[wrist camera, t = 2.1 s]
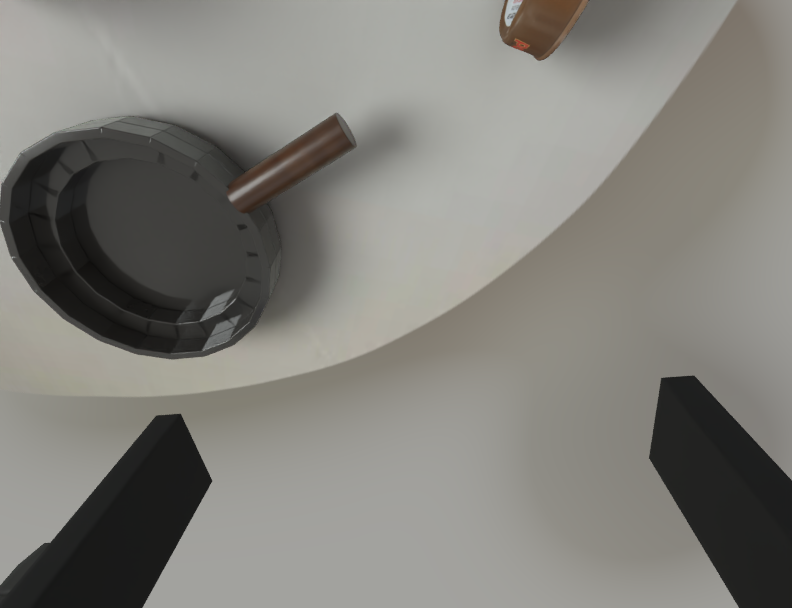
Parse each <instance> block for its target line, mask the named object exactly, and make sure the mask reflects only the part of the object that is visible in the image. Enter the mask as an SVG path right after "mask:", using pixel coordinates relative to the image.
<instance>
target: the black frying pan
mask: <svg viewBox="0 0 792 608" xmlns="http://www.w3.org/2000/svg"><path fill="white" fill-rule="evenodd" d="M243 173H245V172H244V171H243V170H242V169H241V168H240V167H239V166H238V165H236V164H235V163H234V162H233V161H232V160H231V159H230V158H229V157H228V156H227V155H225V154H224V153H223V152H222V151H221V150H220V149H219V148H218V147H216V146H215V145H213V144H211V143H209V142H207V141H205V140H203V139H201V138H199V137H197V136H195V135H194V134H192V133H190V132H188V131H186V130H184V129H182V128H180V127H178V126H175V125H173V124H168V123H163V122H158V121H153V120H149V119H144V118H139V117H134V116H125V117H117V118H109V119H100V120H92V121H89V122H86V123H82V124H79V125H76V126H73V127H70V128H67V129H64V130H61V131H58V132H55V133H53V134H51V135H49V136H48V137H46V138H44V139H42V140H41V141H39V142H37V143H36V144H34V145H32V146H30V147H29V148H27V149H25V150H24V151H22V152H21V153H20V154H19V156H18V157H17V159H16V161H15V162H14V164H13V166H12V167H11V169H10V170H9V172H8V174H7V175H6V177H5V179H4V180H3V182H2V184H1V197H0V225H1V228H2V231H3V234H4V237H5V241H6V244H7V247H8V250H9V253H10V256H11V258H12V260H13V261H14V263H15V264H16V266H17V267H18V269H19V270H20V272H21V273H22V275H23V276H24V278H25V279H26V281H27V282H28V284H29V285H30V286H31V288H32V289H33V291H34V292H35V293H36V294H37V295H38V296H39V297H40V298H41V299H43V300H44V301H45V302H46V303H47V304H48V305H49V306H50V307H51V308H52V309H53V310H54V311H56V312H57V313H58V314H59V315H60V316H61V317H62V318H63V319H65V320H66V321H68V322H69V323H71V324H73V325H74V326H76V327H77V328H79V329H81V330H82V331H84V332H86V333H87V334H89V335H91V336H92V337H94V338H96V339H97V340H100V341H101V342H104V343H107V344H110V345H112V346H115V347H118V348H121V349H123V350H126V351H129V352H132V353H134V354H138V355H145V356H152V357H159V358H166V359H181V358H192V357H203V356H207V355H210V354H212V353H215V352H217V351H220V350H223V349H225V348H228V347H230V346H233V345H235V344H236V343H237V342H238V341H239V340H240V339H242V338H243V337H244V336H245V335H246V334H247V333H248V332H250V331H251V330H252V329H253V328H254V327H255V326H256V325H257V323H258V321H259V319H260V317H261V315H262V313H263V311H264V308H265V306H266V304H267V302H268V300H269V298H270V296H271V294H272V291H273V289H274V287H275V284H276V282H277V280H278V278H279V272H280V258H281V242H280V238H279V235H278V231H277V228H276V224H275V221H274V217H273V213H272V212H271V209H270V207H269V206H268V204H267V203H266V204H264V205H263V206H261V207H259V208H258V209H256V210H255V211H253V212H251V213H245V214H243V213H241V212H240V211H238V210H237V209H236V208H235V207H234V206H233V204H232V203H231V202H230V200H229V198H228V196H227V194H226V191H228V190H229V187H228V185H229V183H230V182H231V181H233V180H234V179H236V178H237V177H239V176H240V175H242V174H243Z"/></svg>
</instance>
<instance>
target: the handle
mask: <svg viewBox="0 0 792 608" xmlns="http://www.w3.org/2000/svg"><path fill="white" fill-rule="evenodd" d="M356 147H357V145H356V141H355V138H354V136H353V134H352V132H351V130H350V129H349V127H348V125H347V124H346V122H345V121H344V119H343V118H342V117H341V116H340V115H339V114H338V113H335V114H333V115H332V116H330V117H329V118H327V119H326V120H324V121H323V122H321V123H320V124H318V125H317V126H315V127H314V128H312V129H310V130H309V131H307V132H306V133H304V134H303V135H301V136H300V137H298V138H297V139H295V140H294V141H292V142H291V143H289V144H288V145H286V146H285V147H283V148H282V149H280V150H278V151H277V152H275V153H274V154H272V155H271V156H269V157H268V158H266V159H265V160H263V161H262V162H260V163H259V164H257V165H256V166H254V167H253V168H251V169H250V170H248V171H246V172H245V173H243V174H242V175H240V176H239V177H237V178H236V179H234V180H233V181H231V182H230V183H229V185H228V187H229V190H228V191H226V194H227V196H228V198H229V200H230V202H231V203H232V204H233V206H234V207H235V208H236V209H237V210H238V211H240V212H241V213H243V214H245V213H251V212H253V211H255V210H256V209H258V208H259V207H261V206H263V205H264V204H266V203H267V202H269V201H271V200H272V199H274V198H275V197H277V196H279V195H280V194H282V193H284V192H285V191H287V190H288V189H290V188H292V187H293V186H295V185H296V184H298V183H300V182H301V181H303V180H304V179H306V178H308V177H309V176H311V175H313V174H314V173H316V172H317V171H319V170H321V169H322V168H324V167H325V166H327V165H329V164H330V163H332V162H333V161H335V160H337V159H338V158H340V157H342V156H343V155H345V154H346V153H348V152H350V151H351V150H353V149H354V148H356Z"/></svg>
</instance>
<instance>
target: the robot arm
mask: <svg viewBox="0 0 792 608" xmlns="http://www.w3.org/2000/svg"><path fill="white" fill-rule="evenodd" d="M649 459H650V460H651V462H652V464H653V465H654V467H655V468H656V470H657V472H658V474H659V475H660V477H661V479H662V480H663V482H664V484H665V485H666V487H667V489H668V490H669V492H670V494H671V495H672V497H673V499H674V500H675V502H676V503H677V505H678V507H679V509H680V510H681V512H682V513H683V515H684V517H685V518H686V520H687V522H688V523H689V525H690V527H691V528H692V530H693V532H694V533H695V535H696V537H697V538H698V540H699V542H700V543H701V545H702V547H703V548H704V550H705V552H706V553H707V555H708V557H709V558H710V560H711V562H712V563H713V565H714V567H715V568H716V570H717V572H718V573H719V575H720V577H721V578H722V580H723V582H724V583H725V585H726V587H727V588H728V590H729V592H730V593H731V595H732V596H733V598H734V600H735V602H736V603H737V605H738V607H739V608H792V480H791V479H790V478H789V477H788V476H787V475H786V474H785V473H784V472H783V471H782V470H781V468H779V466H778V465H777V464H776V463H775V462H774V461H773V460H772V459H771V458H770V457H769V456H768V454H767V453H766V452H765V451H764V450H763V449H762V448H761V447H760V446H759V445H758V444H757V443H756V442H755V441H754V440H753V438H752V437H751V436H750V435H749V434H748V433H747V432H746V431H745V430H744V429H743V428H742V427H741V425H740V424H739V423H738V422H737V421H736V420H735V419H734V418H733V417H732V416H731V415H730V414H729V413H728V412H727V411H726V409H725V408H724V407H723V406H722V405H721V404H720V403H719V402H718V401H717V400H716V399H715V398H714V397H713V395H712V394H711V393H710V392H709V391H708V390H707V389H706V388H705V387H704V386H703V385H702V384H701V383H700V381H699V380H698V379H697V378H696V377H695V376H682V377H668V378H661V384H660V391H659V397H658V404H657V410H656V417H655V423H654V429H653V437H652V442H651V449H650V456H649ZM211 482H212V479H211V477H210V475H209V473H208V471H207V469H206V467H205V464H204V462H203V460H202V458H201V456H200V454H199V452H198V450H197V448H196V445H195V443H194V441H193V439H192V437H191V435H190V433H189V430H188V428H187V427H186V424H185V422H184V420H183V418H182V416H181V414H173V415H158V416H156V417H155V418H154V419H153V420H152V422H151V423H150V424H149V425H148V426H147V428H146V429H145V430H144V431H143V432H142V434H141V435H140V436H139V437H138V439H137V440H136V441H135V442H134V443H133V444H132V446H131V447H130V448H129V449H128V450H127V452H126V453H125V454H124V456H122V458H121V459H120V460H119V461H118V462H117V464H116V465H115V466H114V467H113V468H112V470H111V471H110V472H109V473H108V474H107V476H106V477H105V478H104V479H103V480H102V482H101V483H100V484H99V485H98V486H97V488H96V489H95V490H94V491H93V492H92V494H91V495H90V496H89V497H88V498H87V500H86V501H85V502H84V503H83V504H82V506H81V507H80V508H79V509H78V510H77V512H76V513H75V514H74V515H73V516H72V518H71V519H70V520H69V521H68V522H67V524H66V525H65V526H64V527H63V528H62V530H61V531H60V532H59V533H58V534H57V536H56V537H55V538H54V539H53V540H52V541H51V543H44V544H43V545H42V546H40V547H39V548H38V549H37V550H36V551H34V552H33V553H32V554H31V555H30V556H28V557H27V558H26V559H25V560H24V561H22V562H21V563H20V564H19V565H18V566H17V567H16V568H15V569H14V570H13V571H12V573H11V574H10V575H9V576H8V577H7V578H6V579H5V581H4V582H3V583H2V584H1V585H0V608H142V607H143V606H144V604H145V602H146V600H147V598H148V596H149V594H150V593H151V591H152V589H153V587H154V586H155V584H156V582H157V580H158V578H159V576H160V575H161V573H162V571H163V569H164V567H165V566H166V564H167V562H168V560H169V558H170V556H171V555H172V553H173V551H174V549H175V548H176V546H177V544H178V542H179V540H180V539H181V537H182V535H183V533H184V531H185V529H186V527H187V526H188V524H189V522H190V520H191V519H192V517H193V515H194V513H195V511H196V510H197V508H198V506H199V504H200V502H201V500H202V499H203V497H204V495H205V493H206V491H207V490H208V488H209V486H210V484H211Z"/></svg>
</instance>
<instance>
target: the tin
mask: <svg viewBox="0 0 792 608" xmlns="http://www.w3.org/2000/svg"><path fill="white" fill-rule="evenodd" d="M588 2H589V0H505V3H504V7H503V10H502V14H501V19H500V26H499V31H500V35H501V38H502V40H503V42H504V43H505V44H507V45H509V46H511V47H513V48H516V49H518V50H521V51H524V52H526V53H529V54H531V55H533V56H534V57H535V58H536V59H537V60H544V59H546V58H547V57H548V56H550V54H552V53H553V52H554V51H555V49H556V48H557V47H558V46H559V45H560V44H561V43H562V42H563V40H564V39H565V38H566V36H567V35H568V33H569V32H570V30H571V29H572V28H573V26H574V24H575V23H576V21H577V20H578V18H579V16H580V15H581V13H582V12H583V10H584V8H585V7H586V5H587V3H588Z"/></svg>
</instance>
